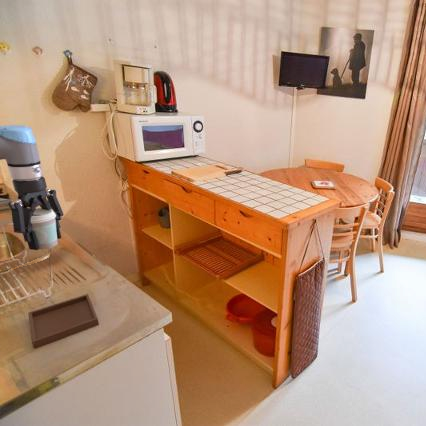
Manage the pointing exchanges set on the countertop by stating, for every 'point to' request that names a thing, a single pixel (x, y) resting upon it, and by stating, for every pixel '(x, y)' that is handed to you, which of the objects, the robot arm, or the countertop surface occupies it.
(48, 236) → the coffee cup
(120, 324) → the countertop surface
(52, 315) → the tray
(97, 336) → the countertop surface
